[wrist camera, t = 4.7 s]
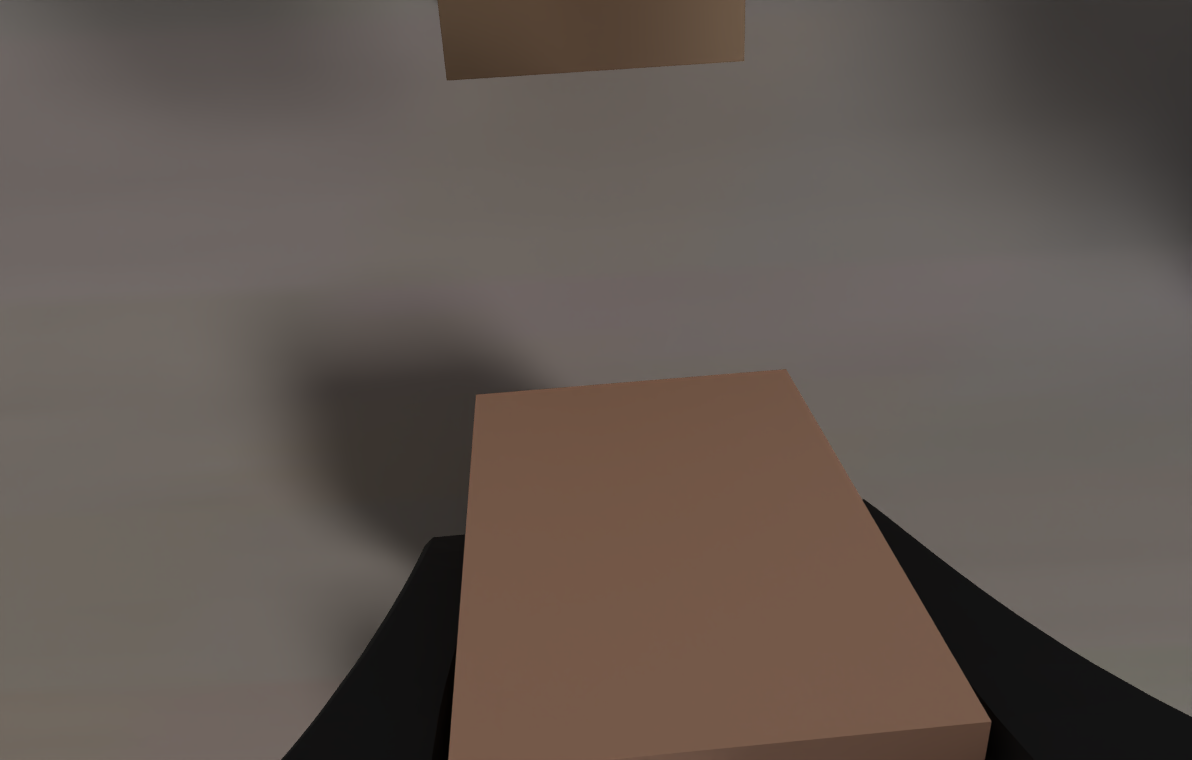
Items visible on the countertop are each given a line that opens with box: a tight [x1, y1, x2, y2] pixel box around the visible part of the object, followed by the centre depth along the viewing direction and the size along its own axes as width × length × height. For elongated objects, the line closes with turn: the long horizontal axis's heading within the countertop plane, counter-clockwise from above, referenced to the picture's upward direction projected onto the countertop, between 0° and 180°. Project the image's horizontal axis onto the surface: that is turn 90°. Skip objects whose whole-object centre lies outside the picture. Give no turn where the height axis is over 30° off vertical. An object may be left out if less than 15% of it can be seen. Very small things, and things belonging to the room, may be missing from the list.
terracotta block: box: [448, 369, 991, 760], centre depth 11 cm, size 4×4×6 cm
